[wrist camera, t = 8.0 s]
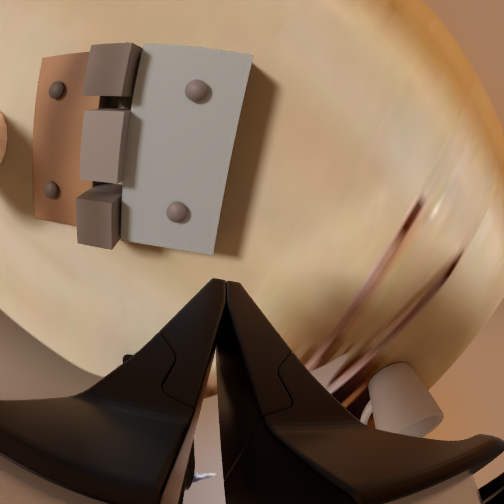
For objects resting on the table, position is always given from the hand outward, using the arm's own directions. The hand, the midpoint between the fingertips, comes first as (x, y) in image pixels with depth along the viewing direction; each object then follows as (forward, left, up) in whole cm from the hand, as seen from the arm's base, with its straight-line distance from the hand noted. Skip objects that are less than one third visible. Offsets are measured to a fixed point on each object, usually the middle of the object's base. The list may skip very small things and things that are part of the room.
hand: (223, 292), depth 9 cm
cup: (-19, -21, -11) cm, 30 cm away
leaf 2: (+2, +5, -11) cm, 12 cm away
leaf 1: (+2, +11, -11) cm, 15 cm away
